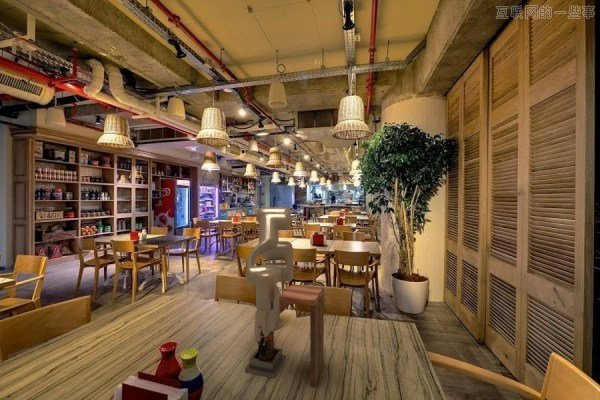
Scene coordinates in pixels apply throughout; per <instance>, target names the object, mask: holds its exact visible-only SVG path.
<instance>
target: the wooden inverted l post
mask: <svg viewBox="0 0 600 400" xmlns="http://www.w3.org/2000/svg"><path fill="white" fill-rule="evenodd" d="M324 297H325V296H324V287H323V286H313V285H312V286H311V285H305V284H304V285H303V284H293V283H292V284H291V285H290V286H288V288H287V289H285V290H284V292H282V293H281V294H280V296H279V313H281V314H282V313H284V311H285V310H286V309H287V308H288V307H289V306H290V305H291V304H292V305H293V304H294V305H299V306H306V307H307V306H308V307H309V309H310V310H309V315H310V316H309V319H310V321H309V322H310V324H309V326H310V328H309V329H310V331H309V332H310V333H309V335H310V336H309V339H310V346H309V347H310V351H309V352H310V354H309V355H310V358H309V359H310V361H309V362H310V367H309V368H310V370H309V371H310V373H309V375H310V378H309V379H310V388H311V387H312V388H315V387H316V385H317V382H318V379H319V377H320V375H321V371H322V369H323V366H324V363H325V359H324V354H325V353H324V352H325V350H324V349H325V347H324V343H325V342H324V338H325V337H324V335H325V333H324V329H325V326H324V321H325V319H324V313H325V312H324V310H325V308H324V303H325V301H324Z"/></svg>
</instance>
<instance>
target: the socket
mask: <svg viewBox="0 0 600 400" xmlns="http://www.w3.org/2000/svg"><path fill="white" fill-rule="evenodd" d="M248 361H249V362H248V364H247V365H246V366H245V367H244V372H245V373H247V374H251V375H257V376H261V377H266V378H270V379H276V376H277V375H278V374H279V372H280V370H281V368H282V367H283V365H284V364H285V361H287V355H285V354H283V349H282V348H277V347H274V355H273V357H272V358H270V359H261V358H260V357H259V354H258V348H257V349H256V350H255V351H254V352H253V353H252V355H251V356H250V357H249V358H248Z"/></svg>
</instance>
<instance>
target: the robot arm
mask: <svg viewBox="0 0 600 400" xmlns="http://www.w3.org/2000/svg"><path fill="white" fill-rule="evenodd" d="M256 218H257V223H258V225H259V226H258V227H259V228H258V229H259V232H258V243H257V245H255V246H254V248H252V249H251V251H250V252H249V254H248V257H247V261H246V271H245V280H246V282H247V284H249V285H252V286H253V285H254V286H255V298H256V299H255V306H256V307H255V309H256V310H255V317H254V331H253V332H254V336H255V342H256V343H257V345H258V346H257V349H258V354H261V355H266V354H267V344H266V337H267V336H268V335H269V334H270V332H271V331H273V333H274V334H275V331H274V330H278V329H280V328H282V327H283V325H284V321H283V320H282V319H281V316H280V315H281V314H282V313H279V296H280V295H281V294H280V288H279V286H278V285H277V284H278V283H287V282H291V281H292V280H293V279H294V248H293V247H294V246H293V244H292V243H291V241H287V240H283V241H281V240H280V239H279V231H289V230H290V229H291V225H292V212H291V210H290V208H289V207H286V206H278V207H277V206H272V207H271V206H270V207H269V206H268V207H267V206H266V207H261V208H258V209H257V211H256ZM261 255H262V258H263V259H265V260H267V261H284V262H266V263H262V264H261V265H254V264H255V261H256V259H257V258H258V257H259V256H261ZM262 334H263V335H262ZM261 337H263V338H264V340H261Z"/></svg>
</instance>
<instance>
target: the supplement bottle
mask: <svg viewBox="0 0 600 400" xmlns="http://www.w3.org/2000/svg"><path fill="white" fill-rule="evenodd" d="M274 334H275V332H274V333H273V331H271V332H270V334H269V335H268V336H267V337H266V344H267V354H266V355H261V354H259V357H260V358H261V359H270V358H272V357H273V355H274V348H275V343H274V342H275V336H274ZM262 335H263V334H262ZM261 340H264V338H263V337H261Z"/></svg>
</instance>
